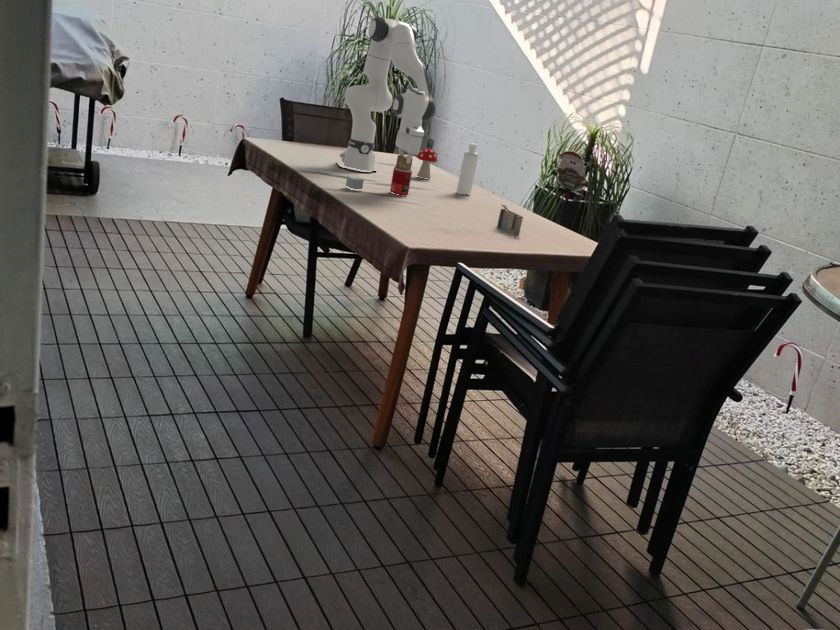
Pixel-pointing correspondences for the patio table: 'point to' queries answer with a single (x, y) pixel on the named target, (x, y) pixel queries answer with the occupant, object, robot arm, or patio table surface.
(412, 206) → the patio table surface
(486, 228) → the patio table surface
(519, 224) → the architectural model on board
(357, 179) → the grey block
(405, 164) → the walnut block
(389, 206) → the patio table surface
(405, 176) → the canned food
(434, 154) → the decorative mushroom
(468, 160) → the white bottle
